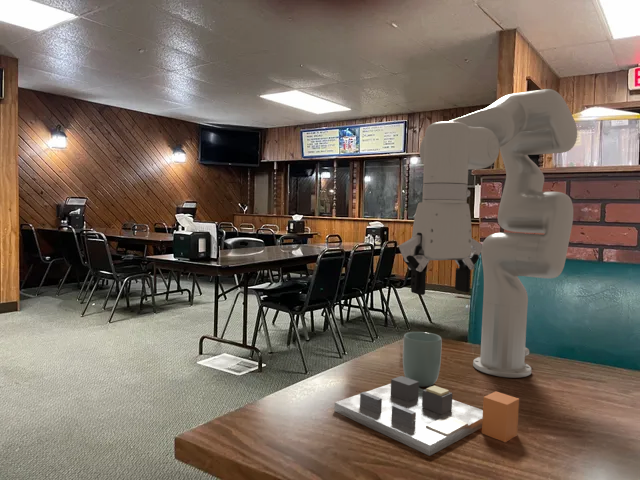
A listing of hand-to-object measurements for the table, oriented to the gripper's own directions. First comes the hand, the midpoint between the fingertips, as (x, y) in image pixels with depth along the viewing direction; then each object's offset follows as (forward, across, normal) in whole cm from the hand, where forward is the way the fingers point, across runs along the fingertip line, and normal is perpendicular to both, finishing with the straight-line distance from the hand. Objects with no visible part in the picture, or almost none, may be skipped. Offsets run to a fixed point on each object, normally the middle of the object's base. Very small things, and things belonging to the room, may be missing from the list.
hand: (440, 292), depth 85 cm
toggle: (+20, +4, -4) cm, 21 cm away
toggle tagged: (+20, +2, +2) cm, 20 cm away
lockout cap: (+22, -4, +11) cm, 25 cm away
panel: (+22, +6, 0) cm, 22 cm away
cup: (+22, -6, -13) cm, 26 cm away
